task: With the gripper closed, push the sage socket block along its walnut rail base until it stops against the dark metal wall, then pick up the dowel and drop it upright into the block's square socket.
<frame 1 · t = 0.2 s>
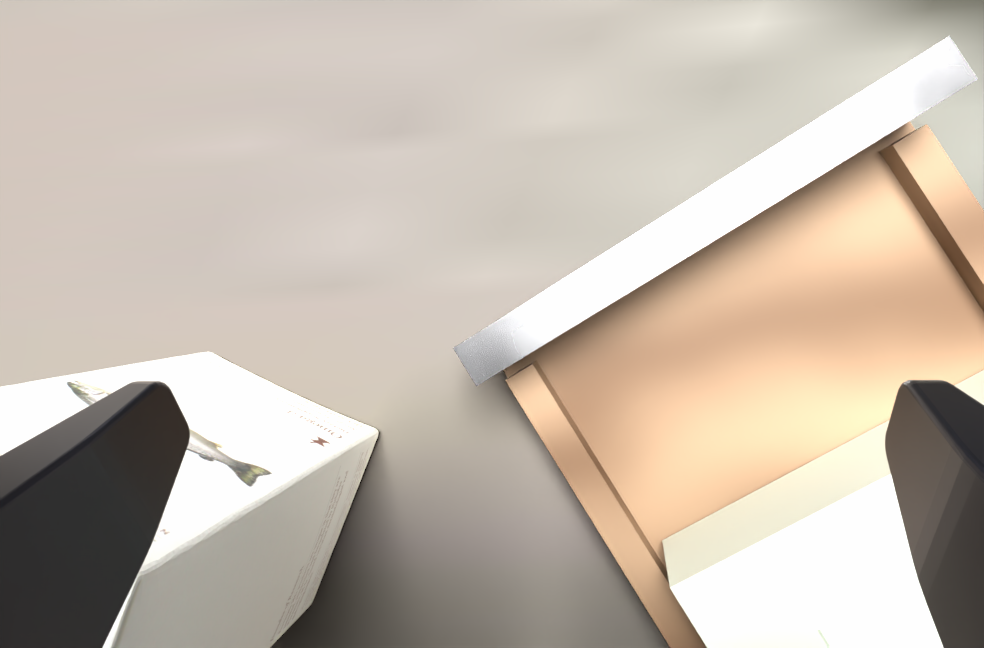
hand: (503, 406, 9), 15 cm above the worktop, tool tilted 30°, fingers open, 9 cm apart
socket block: (949, 643, 19), point 3 cm above the worktop, slide at 7.0 cm
supplement box: (264, 473, 26), on the worktop
rail base: (873, 541, 22), on the worktop
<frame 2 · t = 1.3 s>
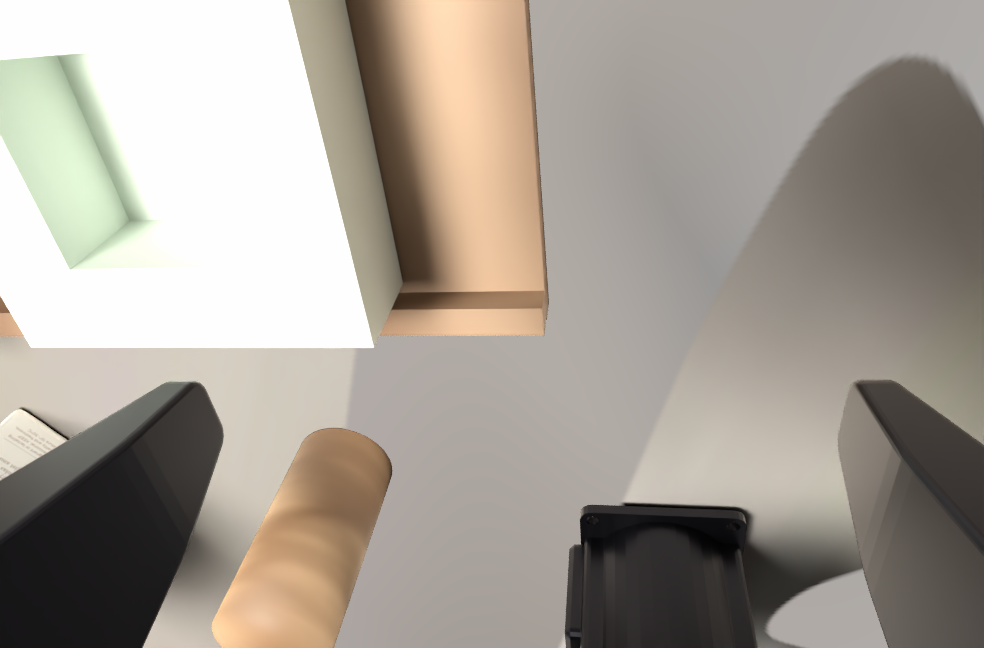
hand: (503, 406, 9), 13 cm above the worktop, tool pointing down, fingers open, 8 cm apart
dowel: (345, 463, 29), on the worktop
socket block: (154, 145, 19), point 3 cm above the worktop, slide at 7.0 cm
supplement box: (57, 480, 33), on the worktop
rail base: (144, 115, 21), on the worktop
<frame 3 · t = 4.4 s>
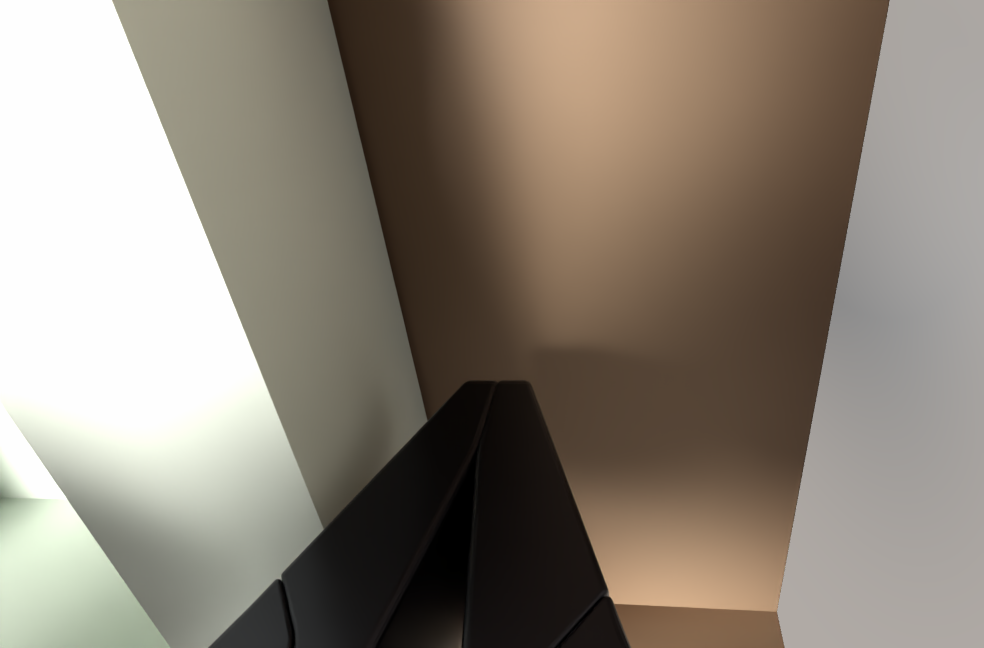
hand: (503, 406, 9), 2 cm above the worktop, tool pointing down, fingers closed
rail base: (60, 321, 12), on the worktop
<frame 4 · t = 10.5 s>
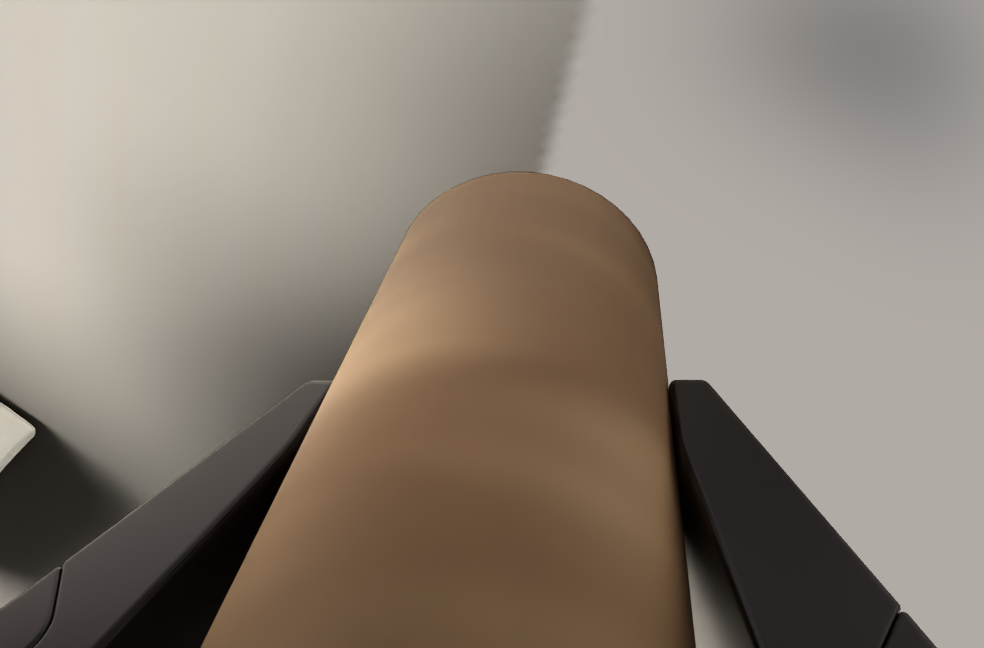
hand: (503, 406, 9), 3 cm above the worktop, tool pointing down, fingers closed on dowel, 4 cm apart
dowel: (523, 294, 11), on the worktop, touching gripper
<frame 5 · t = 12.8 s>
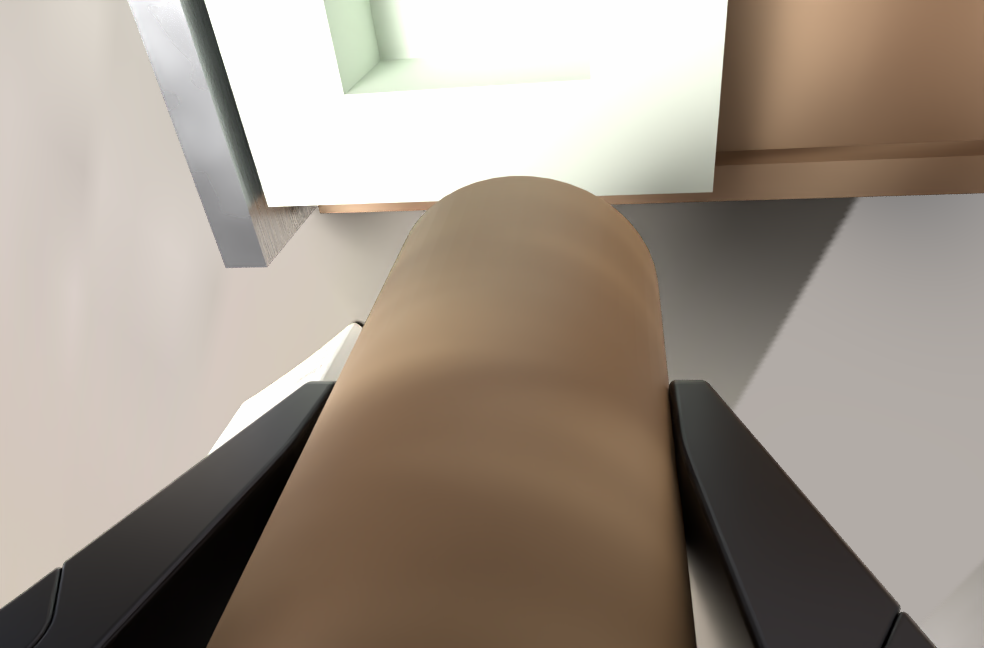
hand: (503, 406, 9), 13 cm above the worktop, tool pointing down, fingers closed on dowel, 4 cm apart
dowel: (524, 298, 11), point 11 cm above the worktop, touching gripper
supplement box: (362, 415, 28), on the worktop
when the fingers open (5 cm above the worktop, at t = 15.4 s): dowel drops 1 cm, resting on socket block.
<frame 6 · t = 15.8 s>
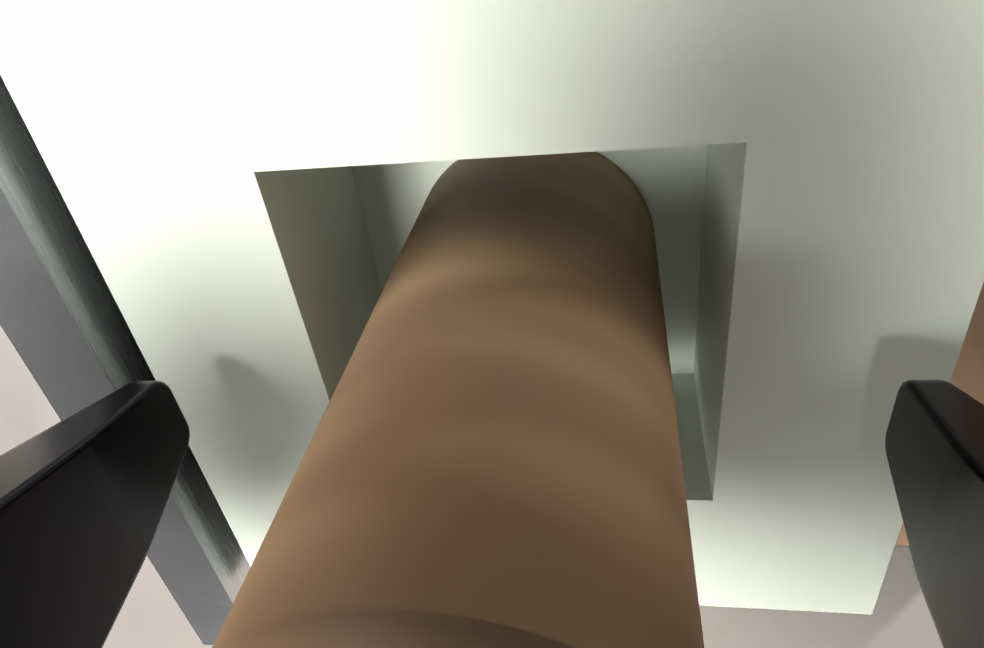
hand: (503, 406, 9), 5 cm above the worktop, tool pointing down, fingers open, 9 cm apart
dowel: (534, 249, 12), point 1 cm above the worktop, touching socket block
socket block: (522, 287, 11), point 3 cm above the worktop, slide at 0.0 cm, touching dowel
rail base: (824, 193, 12), on the worktop
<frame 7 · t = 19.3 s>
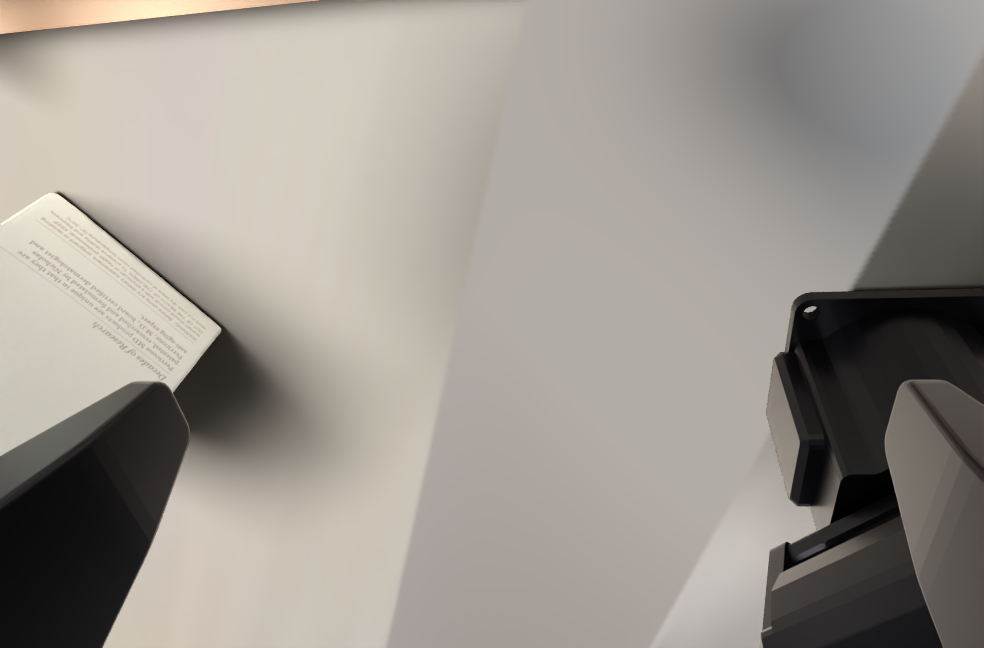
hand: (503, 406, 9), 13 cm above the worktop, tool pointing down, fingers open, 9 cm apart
supplement box: (99, 307, 26), on the worktop
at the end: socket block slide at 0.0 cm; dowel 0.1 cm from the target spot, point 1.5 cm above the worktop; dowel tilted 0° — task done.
